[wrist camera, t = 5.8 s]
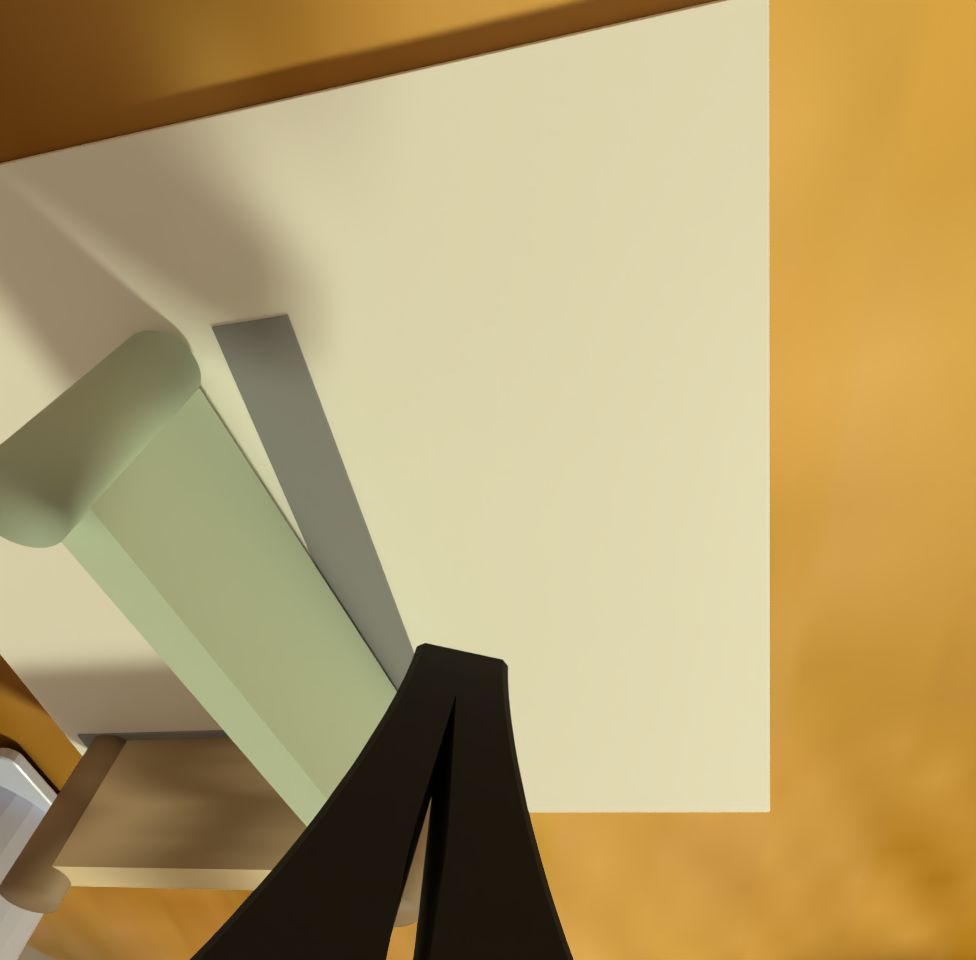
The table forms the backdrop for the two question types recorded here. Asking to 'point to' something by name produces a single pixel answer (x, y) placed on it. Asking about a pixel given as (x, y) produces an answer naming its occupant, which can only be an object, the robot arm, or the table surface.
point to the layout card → (453, 385)
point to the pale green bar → (198, 562)
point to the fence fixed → (165, 825)
